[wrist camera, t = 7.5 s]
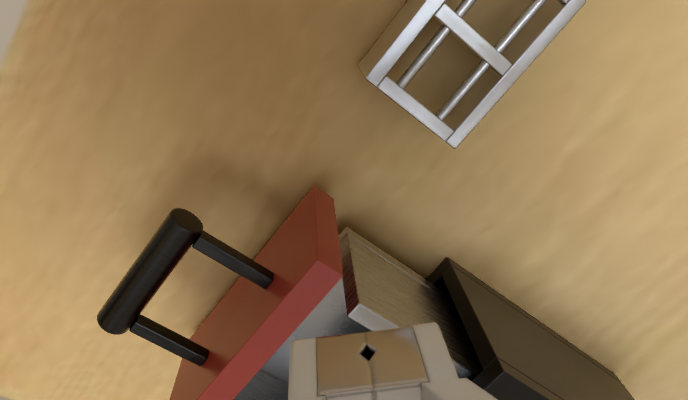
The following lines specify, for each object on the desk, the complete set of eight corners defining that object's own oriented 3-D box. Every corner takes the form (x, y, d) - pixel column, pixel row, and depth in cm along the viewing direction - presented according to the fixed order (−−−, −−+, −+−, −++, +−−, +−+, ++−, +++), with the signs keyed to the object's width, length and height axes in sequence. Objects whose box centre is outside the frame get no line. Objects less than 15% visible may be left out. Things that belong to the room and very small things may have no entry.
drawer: (102, 298, 26) (40, 401, 20) (225, 124, 23) (196, 183, 17) (378, 440, 32) (396, 554, 26) (508, 317, 28) (565, 414, 22)
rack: (438, 129, 25) (455, 150, 22) (357, 64, 23) (364, 78, 20) (553, -3, 22) (587, 1, 20) (472, -84, 21) (497, -92, 18)
